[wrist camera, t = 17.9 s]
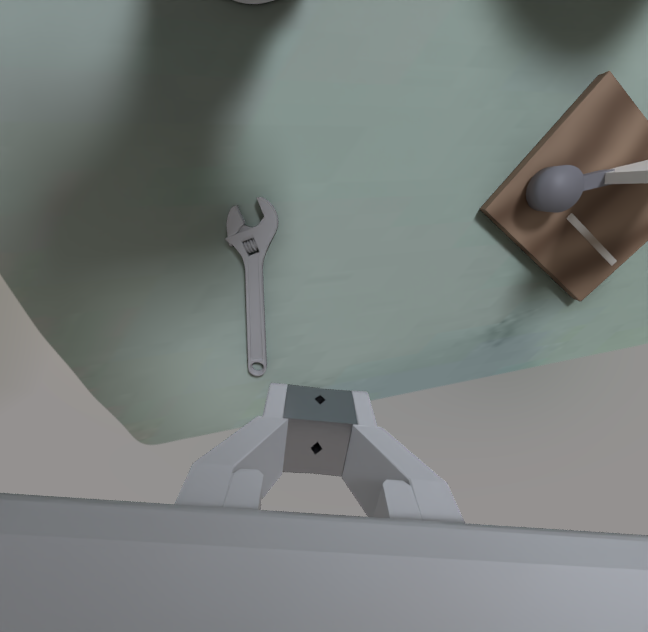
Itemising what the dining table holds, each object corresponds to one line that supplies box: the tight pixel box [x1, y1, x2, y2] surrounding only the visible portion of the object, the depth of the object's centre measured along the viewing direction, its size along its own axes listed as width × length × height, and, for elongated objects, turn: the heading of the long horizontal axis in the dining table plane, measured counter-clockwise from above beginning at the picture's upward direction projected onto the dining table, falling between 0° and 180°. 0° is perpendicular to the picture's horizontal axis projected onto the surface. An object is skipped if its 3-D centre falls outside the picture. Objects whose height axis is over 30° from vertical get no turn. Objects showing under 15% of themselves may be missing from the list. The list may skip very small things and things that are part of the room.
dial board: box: [480, 71, 648, 301], centre depth 40 cm, size 20×18×2 cm
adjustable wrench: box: [225, 197, 278, 376], centre depth 44 cm, size 25×6×2 cm, turn 173°
